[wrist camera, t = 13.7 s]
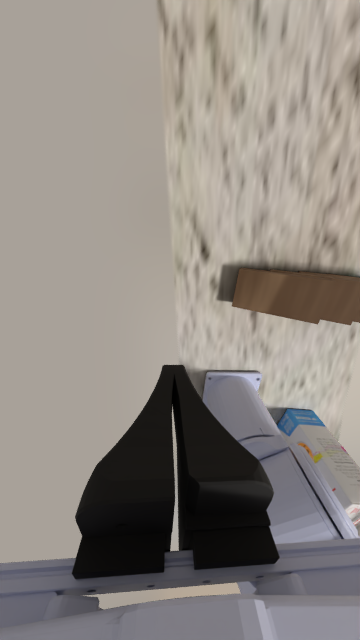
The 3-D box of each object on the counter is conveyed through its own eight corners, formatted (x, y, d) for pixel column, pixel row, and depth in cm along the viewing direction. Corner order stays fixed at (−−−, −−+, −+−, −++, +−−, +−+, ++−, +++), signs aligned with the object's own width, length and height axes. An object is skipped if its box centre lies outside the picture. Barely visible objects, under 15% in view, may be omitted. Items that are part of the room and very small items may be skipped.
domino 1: (241, 267, 19) (331, 278, 16) (234, 302, 21) (314, 318, 18) (239, 269, 18) (336, 281, 15) (231, 306, 20) (317, 324, 17)
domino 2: (270, 269, 20) (364, 280, 17) (261, 303, 21) (344, 319, 18) (270, 270, 18) (372, 283, 15) (260, 307, 20) (350, 325, 17)
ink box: (285, 407, 29) (385, 551, 16) (313, 409, 30) (431, 550, 16) (266, 440, 32) (334, 581, 19) (291, 441, 33) (374, 580, 20)
